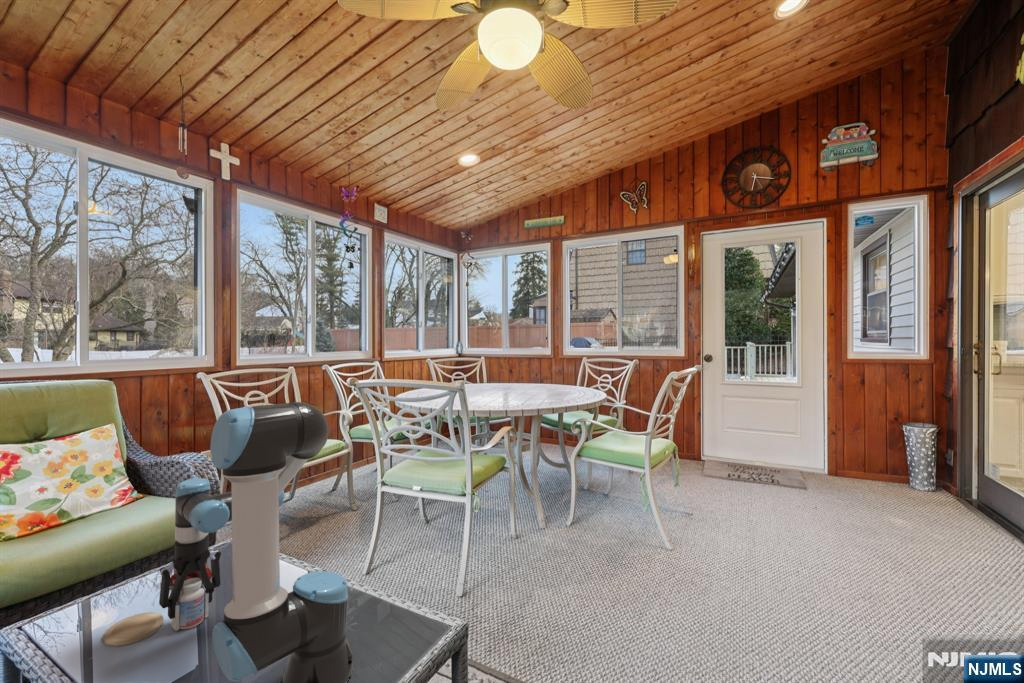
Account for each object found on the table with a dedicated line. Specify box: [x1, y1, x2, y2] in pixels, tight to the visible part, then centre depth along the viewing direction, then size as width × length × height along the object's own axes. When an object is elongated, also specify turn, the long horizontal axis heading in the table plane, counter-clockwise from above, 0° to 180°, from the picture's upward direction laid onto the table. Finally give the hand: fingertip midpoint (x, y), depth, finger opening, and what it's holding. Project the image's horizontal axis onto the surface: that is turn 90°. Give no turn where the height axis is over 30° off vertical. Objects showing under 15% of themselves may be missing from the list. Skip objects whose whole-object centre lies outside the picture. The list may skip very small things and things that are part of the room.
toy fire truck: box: [170, 560, 212, 588], centre depth 138 cm, size 7×12×10 cm, turn 72°
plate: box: [102, 612, 164, 647], centre depth 117 cm, size 12×12×1 cm
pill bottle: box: [177, 578, 205, 630], centre depth 120 cm, size 6×6×11 cm
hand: (190, 621), depth 120 cm, fingers closed on pill bottle, 6 cm apart
